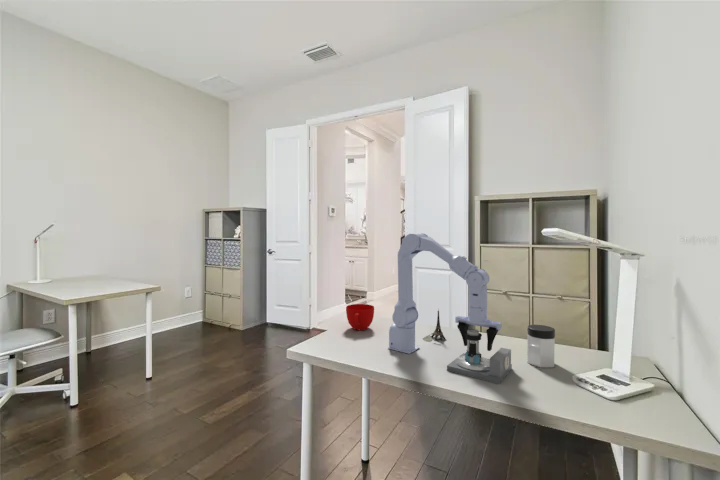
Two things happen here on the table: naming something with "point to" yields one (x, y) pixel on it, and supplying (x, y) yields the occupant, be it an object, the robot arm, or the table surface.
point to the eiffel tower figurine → (436, 333)
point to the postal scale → (484, 366)
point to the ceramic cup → (360, 315)
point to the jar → (541, 346)
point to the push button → (473, 346)
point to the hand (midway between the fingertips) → (477, 347)
